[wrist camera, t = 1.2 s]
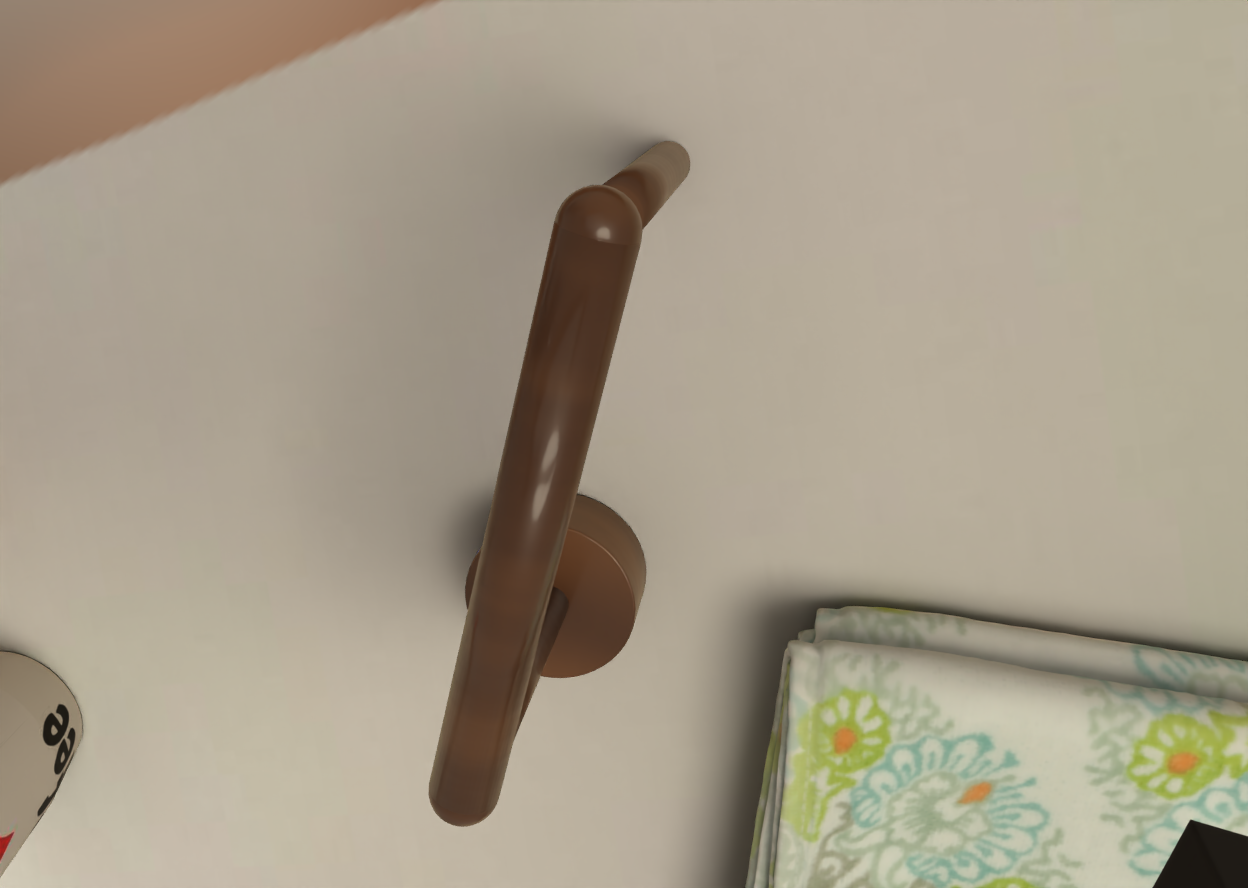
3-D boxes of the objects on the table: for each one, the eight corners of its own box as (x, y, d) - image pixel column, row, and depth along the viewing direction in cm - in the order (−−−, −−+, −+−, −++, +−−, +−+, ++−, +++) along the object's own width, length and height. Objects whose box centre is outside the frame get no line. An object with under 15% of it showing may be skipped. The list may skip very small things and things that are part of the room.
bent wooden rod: (586, 106, 30) (455, 152, 19) (771, 158, 29) (747, 234, 18) (472, 611, 36) (325, 864, 25) (624, 657, 36) (542, 935, 25)
